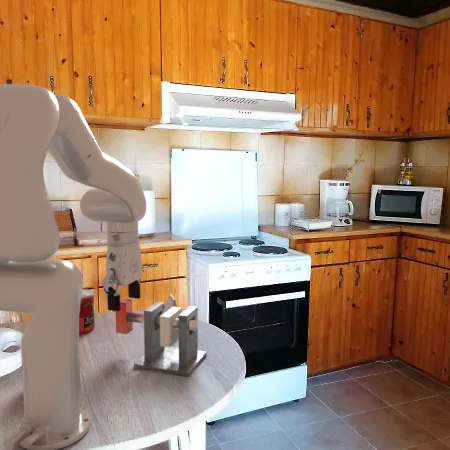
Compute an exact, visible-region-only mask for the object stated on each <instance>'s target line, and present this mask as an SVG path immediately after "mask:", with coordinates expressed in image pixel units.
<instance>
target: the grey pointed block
mask: <svg viewBox="0 0 450 450" xmlns="http://www.w3.org/2000/svg"><path fill="white" fill-rule="evenodd" d="M172 307H178V305H177V303H176V299H175V298H174V296H173V295H172V293H169V294H168V297H167V300H166V301H165V303H164V313H165V312H166V311H168V310H169V309H170V308H172Z"/></svg>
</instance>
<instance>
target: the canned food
mask: <svg viewBox="0 0 450 450" xmlns="http://www.w3.org/2000/svg"><path fill="white" fill-rule="evenodd" d="M95 324H96V323H95V294H94V291H93V290H92V289H91V290H90V289H85V288H83V291H82V297H81V303H80V311H79V335H84V334H87V333H90V332H93V330H94V329H95V326H96V325H95Z"/></svg>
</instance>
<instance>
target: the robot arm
mask: <svg viewBox="0 0 450 450" xmlns="http://www.w3.org/2000/svg"><path fill="white" fill-rule="evenodd" d="M48 152H49V153H50V155H51V157H52V158H53V160H54V162H55V163H56V164H57V167H59V169H60V171H61V172H62V174H64V175H65V177H67V178H69V180H71V181H73V182H76V183H79V184H81V185H85V186H88V187H91V188H92V189H88V190H87V191H86V192H84V193H83V195H82V197H81V199H80V203H79V209H80V212H81V214H82V216H83V217H84V218H86V219H87V220H89V221H93V222H102V223H106V243H107V249H106V260H105V261H106V262H105V263H106V264H105V271H106V272H105V274H106V275H105V277H103V278H102V281H101V285H102V287H103V290H104V292H105V295H106V296H107V298H106V299H107V310H108V311H113V312H116V311H120V299H121V294H119V293H120V290H121V288H122V287H127V286H128V288H127V289H128V298H129V299H130V298H131V299H137V300H139V299H141V282H142V279H141V278H142V277H143V266H144V264H143V262H142V261H143V260H142V252H141V245H140V240H139V222H140V221H142V220H143V218H144V217H145V215H146V213H147V200H146V197H145V196H146V195H145V193H144V190H143V188H142V186H141V183H140V181H139V179H138V178H137V176H136V175H135V174H134V173H133V172H132V171H131V170H130V169H129V168H127V167H126V166H124V164H121V163H120V162H119V161H118V160H117V159H115V158H113V157H112V156H109V155H108V154H106V153H104V152H103V151H102V150H101V148H100V146H99V143H98V142H97V139H96V138H95V136H94V135H93V132H92V130H91V129H90V126H89V125H88V123H87V121H86V119H85V117H84V114H83V113H82V110H81V109H80V107H79V106H78V104H77V103H76V102H75V101H74V99H72V98H71V97H68V96H67V95H63V94H60V93H59V94H58V93H56V94H55V93H53V92H52V91H51V90H49V89H47V88H45V87H43V86H39V85H34V84H28V83H27V84H24V83H6V84H5V83H1V84H0V311H2V312H11V313H23V314H29V315H31V316H32V318H31V320H30V322H29V324H28V325H27V327H26V328H25V329H24V331H23V332H22V335H21V338H20V354H21V371H22V372H21V373H22V389H23V390H22V393H23V394H22V395H23V408H24V409H23V410H24V415H23V416H22V417H21V418H19V419H20V422H19V424H18V425H17V426H16V430H15V432H14V433H12V434H10V435H9V436H8V437H7V438H6V439H5V440H4V441H3V446H4V448H5V449H6V450H13V449H15V448H16V447H17V446H20V447H22V449H25V450H59V449H62V448H66V447H68V446H71V445H72V444H74V443H75V442H78V441H79V440H80V439H82V438H83V437H84V436H85V435H86V434H87V432H88V431H89V430H90V427H91V425H92V419H91V418H92V417H91V415H90V412H88V411H87V409H85V408H83V407H82V388H81V387H82V383H81V382H82V381H81V359H80V358H81V355H80V354H81V353H80V334H79V311H80V303H81V297H82V291H83V289H84V279H83V278H84V276H83V274H82V271H81V270H80V269H79V267H78V266H77V265H76V264H74V263H72V262H70V261H69V260H65V259H59V258H52V257H53V256H55V254H56V253H57V252H58V250H59V247H60V242H61V241H60V233H59V232H60V231H59V227H58V224H57V219H56V217H55V213H54V209H53V207H52V203H51V200H50V196H49V193H48V189H47V187H46V183H45V178H44V177H45V176H44V165H45V161H46V157H47V154H48ZM114 287H115V288H114Z"/></svg>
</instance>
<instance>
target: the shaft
mask: <svg viewBox="0 0 450 450" xmlns="http://www.w3.org/2000/svg"><path fill="white" fill-rule="evenodd" d="M154 319H155V325H156V326H160V316H157V315H155V316H154ZM133 323H134V324H135V323H136V324H141V325H144V313H140V312H134V311H133V299H132V298H131V299H130V298H129V299H128V298H123V297H122V298H120V311H115V333H117V334H123V335H127V334H128V335H129V333H130V332H132V331H133V328H134V327H133ZM198 327H199V321H196V320H189V330H192V331H196V330H197V328H198ZM172 328H178V329H179V318H176V319H174V320H173V321H172Z"/></svg>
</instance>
